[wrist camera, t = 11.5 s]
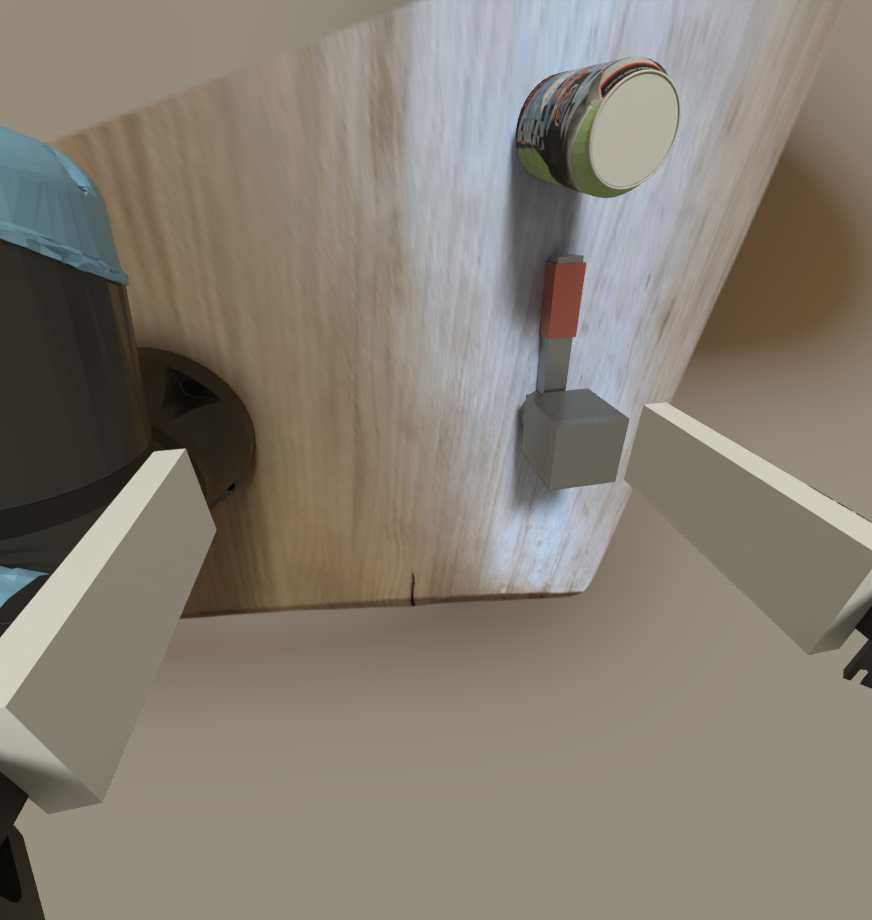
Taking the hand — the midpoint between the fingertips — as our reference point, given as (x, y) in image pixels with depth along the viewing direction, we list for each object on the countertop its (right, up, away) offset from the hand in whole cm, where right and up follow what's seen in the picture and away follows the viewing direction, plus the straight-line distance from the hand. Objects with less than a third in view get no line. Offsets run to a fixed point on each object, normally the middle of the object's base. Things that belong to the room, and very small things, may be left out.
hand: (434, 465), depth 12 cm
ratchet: (+11, +10, +27) cm, 31 cm away
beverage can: (+9, +24, +19) cm, 32 cm away
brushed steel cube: (+12, +4, +28) cm, 31 cm away
